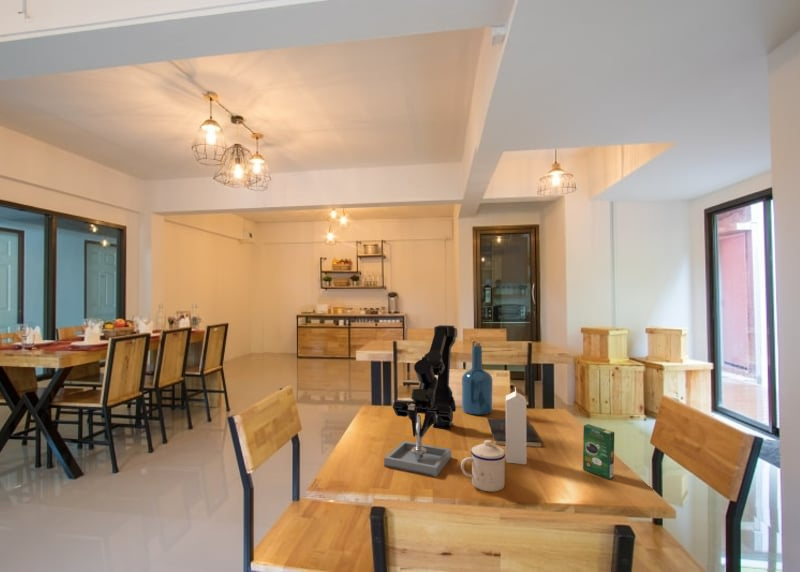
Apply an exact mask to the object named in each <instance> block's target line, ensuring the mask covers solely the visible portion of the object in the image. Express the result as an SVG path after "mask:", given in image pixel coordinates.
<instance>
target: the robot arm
mask: <svg viewBox="0 0 800 572" xmlns="http://www.w3.org/2000/svg"><path fill="white" fill-rule="evenodd" d="M433 330H434V331H433V333H434V334H433V338H432V341H431V345H430V349H429V351H428V352H427V353H424V356H422V358H421V359H419V360H417V361H416V362H415V364H414V366H413V369H414V371H415V375H416V378H417V381H418V382H419V386H418V388H412V389H411V398H410V400H412V403H413V404H408V402H407V401H406V400H405V401H404V400H395V401H394V402H393V404H392V409H393V411H394V413H395V416H397V417H402V418H406V417H408V419H409V420H411V425H412V426H411V429H412V436H413V437H414V438H416V423H417V415H419V414H422V415H423V414H424V419H423V422H422V425H421V426H422V427H421V428H422V429H421V434H420V437H421V438H422V439H423V437H424V436H425V434H426V433H427V431H428V430H429V429H430V428H431V426H432V427H433V428H438V429H445V430H450V429H451V427H453V425H454V422H453V419H454V413H455V412H456V411H457V410H456V409H457V407H456V401H455V398H454V396H453V391H452V389H451V387H450V370H451V368H450V367H451V355H452V354H451V353H452V352H451V351H452V347H453V346H454V345H455V344H456V338H457V337H458V329H457V328H456V327H455V325H447V324H446V325H445V324H444V325H441V324H439V325H436V326H434V327H433ZM436 376H437V377H436Z"/></svg>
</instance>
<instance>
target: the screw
mask: <svg viewBox="0 0 800 572" xmlns="http://www.w3.org/2000/svg"><path fill="white" fill-rule="evenodd" d="M421 420H422V417H421V415H420V414H418V415H417V423H416V435H415V443H416V447H413V448H412V449H411V452H412V453H413V454H415V458H418V459H420V458H423V454H425V453H426V452H427V450H426V449H425V448H424V447H422V442H423V441H422V439H423V437H422V438H421V437H420V434H421V429H422V426H423V423H422V421H421Z"/></svg>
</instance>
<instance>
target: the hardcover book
mask: <svg viewBox="0 0 800 572" xmlns="http://www.w3.org/2000/svg"><path fill="white" fill-rule="evenodd" d="M486 419H487V422H488V426H489V429H490V432H491V435H492V438H493V442H494V445H496V446H499V445H500V446H501V445H502V446H503V445H504V446H506V418H493V417H491V418H490V417H489V418H486ZM543 446H544V445H543V442H542V441H541V439H540V437H539V436H538V434H537V432H536V430H535V429H534V428H533V426H532V424H531V423H530V422H529V420H528V419H526V447H539V448H541V447H542V448H543Z"/></svg>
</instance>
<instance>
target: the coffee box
mask: <svg viewBox="0 0 800 572" xmlns="http://www.w3.org/2000/svg"><path fill="white" fill-rule="evenodd" d="M582 444H583V445H582V446H583V447H582V448H583V449H582V452H583V453H582V470H584V471H586V472H589V473H592V474H594V475H596V476H599V477H601V478H602V479H603V478H604V479H607V480H609V481H611V479H614V475H615V471H614V470H615V467H614V466H615V432H614V431H612V430H608V429H606V428H601V427H599V426H596V425H592V424H590V423H586V424H584V425H583V443H582Z"/></svg>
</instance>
